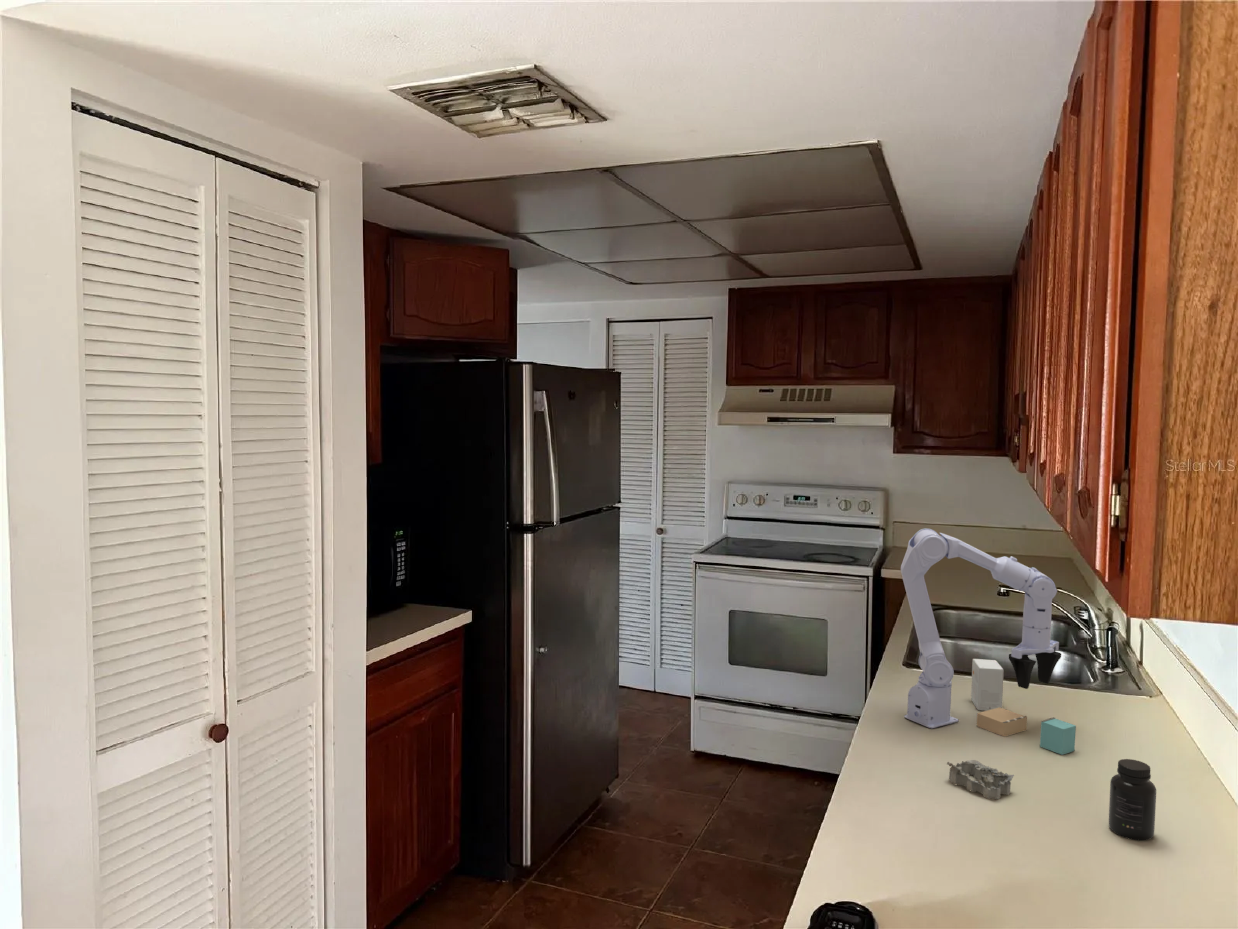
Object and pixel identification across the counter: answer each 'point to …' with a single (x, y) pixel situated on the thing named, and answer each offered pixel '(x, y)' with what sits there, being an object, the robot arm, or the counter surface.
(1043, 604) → the robot arm
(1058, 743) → the teal box
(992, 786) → the egg carton
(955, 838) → the counter surface
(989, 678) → the small box
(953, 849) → the counter surface
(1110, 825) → the supplement bottle
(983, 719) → the taped cardboard box
